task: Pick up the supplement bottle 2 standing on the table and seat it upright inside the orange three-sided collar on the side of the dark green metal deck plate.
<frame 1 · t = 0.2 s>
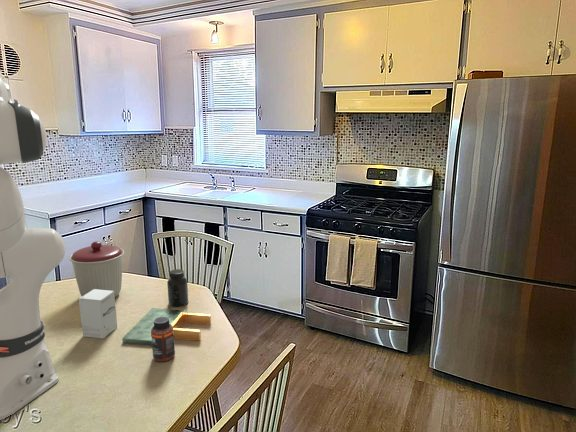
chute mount: (156, 327, 133), on the table
supplement bottle: (178, 303, 151), on the table
supplement box: (100, 332, 130), on the table
supplement bottle 2: (164, 357, 118), on the table
canister: (101, 296, 155), on the table
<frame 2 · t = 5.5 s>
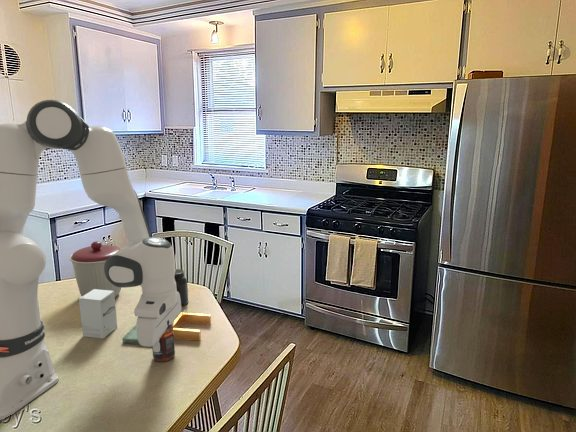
hand: (163, 343, 117), 4 cm above the table, tool pointing down, fingers closed on supplement bottle 2, 6 cm apart
supplement bottle 2: (164, 357, 118), on the table, touching gripper
everything else where it was.
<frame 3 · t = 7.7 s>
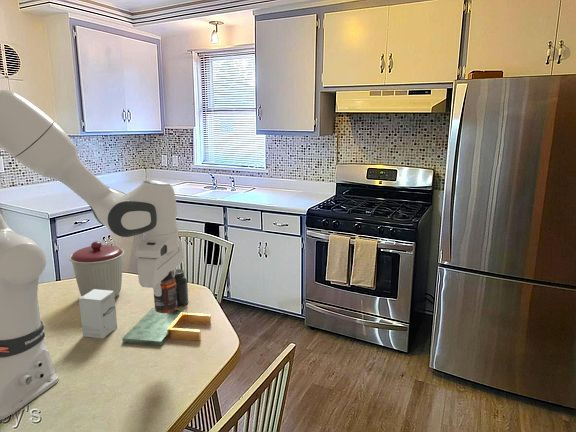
hand: (164, 289, 115), 19 cm above the table, tool pointing down, fingers closed on supplement bottle 2, 6 cm apart
supplement bottle 2: (166, 310, 116), point 13 cm above the table, touching gripper
everything else where it was.
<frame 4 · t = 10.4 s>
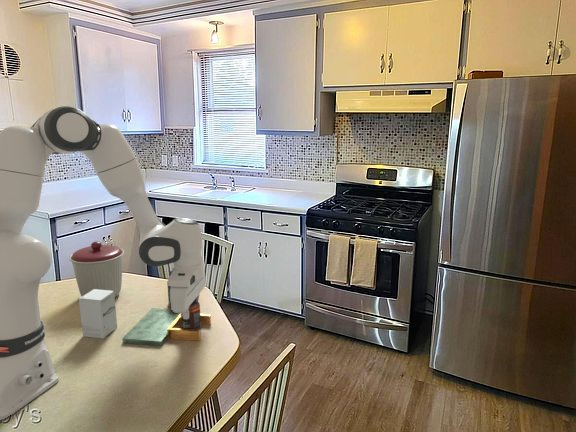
hand: (191, 312, 131), 6 cm above the table, tool pointing down, fingers closed on supplement bottle 2, 6 cm apart
supplement bottle 2: (191, 330, 132), on the table, touching gripper
everything else where it was.
when the fingers open (6 cm above the table, at t = 10.9 s): supplement bottle 2 stays where it is, on the table.
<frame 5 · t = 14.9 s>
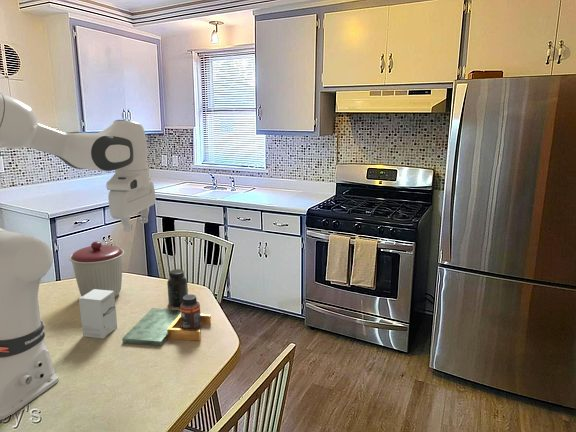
hand: (136, 226, 121), 34 cm above the table, tool pointing down, fingers open, 8 cm apart
supplement bottle 2: (191, 330, 132), on the table
everything else where it was.
at the end: supplement bottle 2 0.2 cm from the target spot on the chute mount, point 0.0 cm above the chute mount's base; supplement bottle 2 tilted 0°; the gripper is holding nothing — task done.
